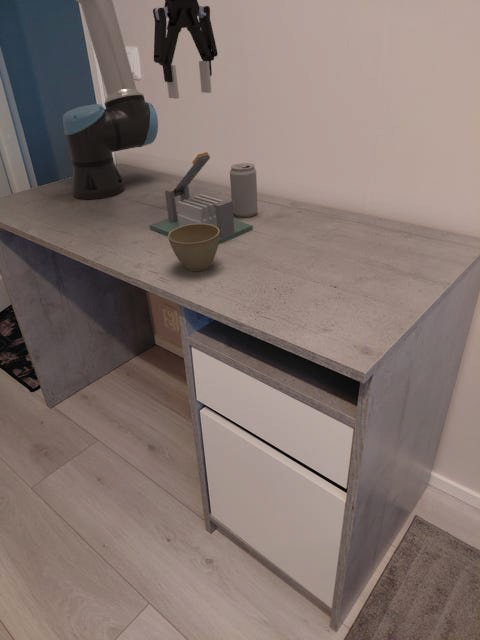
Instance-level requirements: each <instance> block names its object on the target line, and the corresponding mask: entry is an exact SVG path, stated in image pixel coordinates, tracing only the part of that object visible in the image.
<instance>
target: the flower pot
mask: <svg viewBox="0 0 480 640" xmlns="http://www.w3.org/2000/svg"><path fill="white" fill-rule="evenodd" d="M219 235H220V230H219V228H217V227H216V226H214V225H210V224H202V223H197V224H188V225H184V226H180V227H178V228H175V229H174V230H172V231H171V232H170V233H169V234H168V236H167V237H168V238H167V239H168V241H169V244H170V248H171V249H172V251H173V253H174V254H175V256H176V258H177V260H178V261H179V262H180V263H181V264H182V266H183V267H184V268H185V269H186V270H188V271H192V272H202V271H205V270H208V269H209V267H210V266H211V265H212V264H213V261H214V259H215V257H216V254H217V252H218V247H219V244H218V243H219Z"/></svg>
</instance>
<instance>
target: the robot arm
mask: <svg viewBox="0 0 480 640" xmlns="http://www.w3.org/2000/svg"><path fill="white" fill-rule="evenodd" d="M75 1H76V2H78V3H79V4H80V6H81V9H82V12H83V16H84V19H85V23H86V26H87V30H88V34H89V37H90V40H91V43H92V47H93V50H94V54H95V57H96V61H97V64H98V67H99V71H100V75H101V78H102V81H103V85H104V88H105V91H106V96H107V97H106V99H105V101H104V105H102V104H99V103H94V104H90V105H82V106H79V107H76V108H73V109H71V110H68V111H66V112H64V114H63V116H62V122H63V123H62V124H63V132H64V135H65V137H66V138H65V139H66V142H67V147H68V151H69V154H70V155H69V156H70V158H71V159H70V160H71V163H72V169H73V171H72V180H71V184H72V185H71V190H72V194H73V196H74V198H77V199H81V200H97V199H98V200H99V199H104V198H109V197H110V198H111V197H114V196H116V195H119V194H121V193H123V192H124V191H125V188H126V187H125V182H124V179H123V177H122V176H121V173H120V172H119V170H118V168H117V166H116V164H115V161H114V155H113V153H114V152H119V151H124V150H130V149H134V148H135V149H136V148H142V147H144V146H148V145H151V144H153V143H154V142H155V140H156V139H157V135H158V133H159V131H158V130H159V122H158V121H159V119H158V114H157V111H156V108H155V107H154V105H153V104H152V103H151V102H148V101H146V99H145V96H144V94H143V93H142V92H140V91H139V90H138V89H137V86H136V84H135V78H134V75H133V72H132V68H131V64H130V61H129V57H128V54H127V50H126V46H125V43H124V38H123V35H122V31H121V29H120V28H121V27H120V24H119V20H118V17H117V13H116V10H115V6H114V2H113V0H75ZM152 13H153V19H154V35H153V39H154V41H153V62H154V63H157V64H159V66H162V72H163V78H164V79H163V81H165V83H166V84H167V91H168V98H169V99H180V94H179V86H178V78H177V75H178V74H177V67H176V65H175V64H173V61H174V57H175V53H176V48H177V43H178V38H179V35H180V33H181V31H182V29H184V28H186V30H187V31H188V32H189V33H190V35H191V38H192V40H193V42H194V45H195V47H196V50H197V52H198V53H199V56H200V58H201V60H199V61H198V67H199V79H200V90H201V93H206V94H211V93H212V83H211V82H212V80H211V77H212V74H213V73H212V72H213V71H212V61H214V60H215V57H217V56H218V49H217V45H216V40H215V35H214V30H213V27H212V22H211V7H210V6H209V5H206V6H205V5H204V6H201V5H199V3H198V0H164V6H163V7H155V8H153V10H152ZM167 19H168V21H167Z"/></svg>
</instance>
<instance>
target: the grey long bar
mask: <svg viewBox="0 0 480 640" xmlns="http://www.w3.org/2000/svg"><path fill="white" fill-rule="evenodd" d="M210 159H211V157H210V154H209V153H208V151H205V152H203V153H199V154H197V155H196V156H195V158H194V159H193V160H192V162H191V163H192V165H191V167H190V169H189V170H188V171H187V172H186V174H185V175H184V176H183V178H182V179H181V180H180V181H179V183H178V184H177V185H176V186H175V188H174V189H172V190H173V191H174V196H175V198H176V197H178V196H179V197H180V195H182V194H183V191H184V189H185V188H186V187H187V186H188V187H189V185H190V184H191V182H192V181H193V180H194V179H195V178H196V176H197V174H199V172H200V171H201V170H202V169H203V167H205V165H206V164H207V163H208V161H209V160H210Z"/></svg>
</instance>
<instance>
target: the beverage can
mask: <svg viewBox="0 0 480 640" xmlns="http://www.w3.org/2000/svg"><path fill="white" fill-rule="evenodd" d="M229 178H230V180H229V181H230V194H231V195H230V196H231V201H233V215H235V216H236V217H239V218H250V217H252V216H255V214H256V213H257V212H258V211H259V210H258V208H259V207H258V187H257V183H258V182H257V170H256V168H255V164H253V163H250V162H243V163H242V162H239V163H235V164H232V165H231V167H230V171H229Z"/></svg>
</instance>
